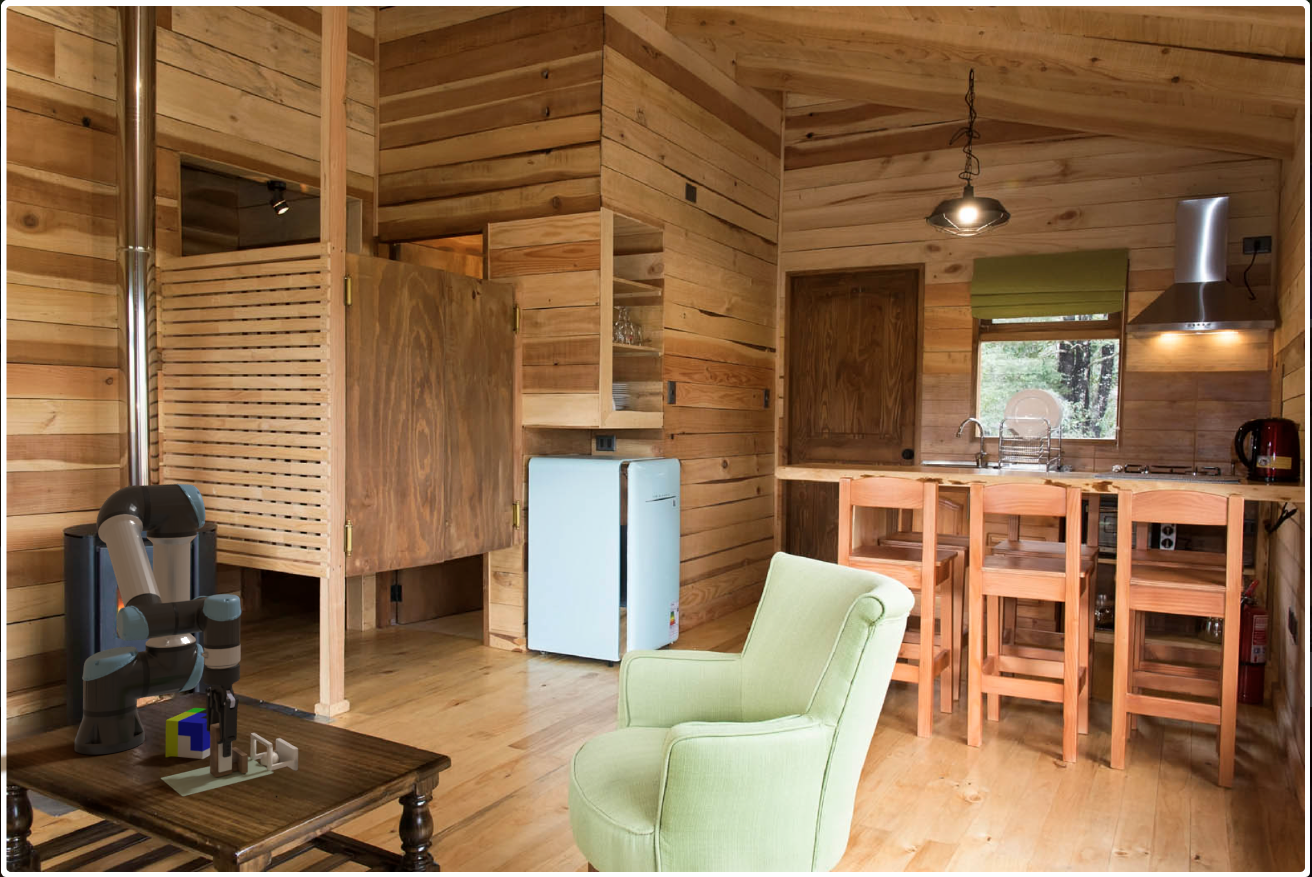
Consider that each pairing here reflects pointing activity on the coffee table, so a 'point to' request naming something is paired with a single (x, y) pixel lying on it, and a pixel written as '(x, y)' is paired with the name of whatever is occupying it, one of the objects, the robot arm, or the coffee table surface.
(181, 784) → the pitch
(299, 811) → the coffee table surface
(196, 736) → the puzzle toy
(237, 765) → the kicker
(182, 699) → the coffee table surface
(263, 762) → the ball
